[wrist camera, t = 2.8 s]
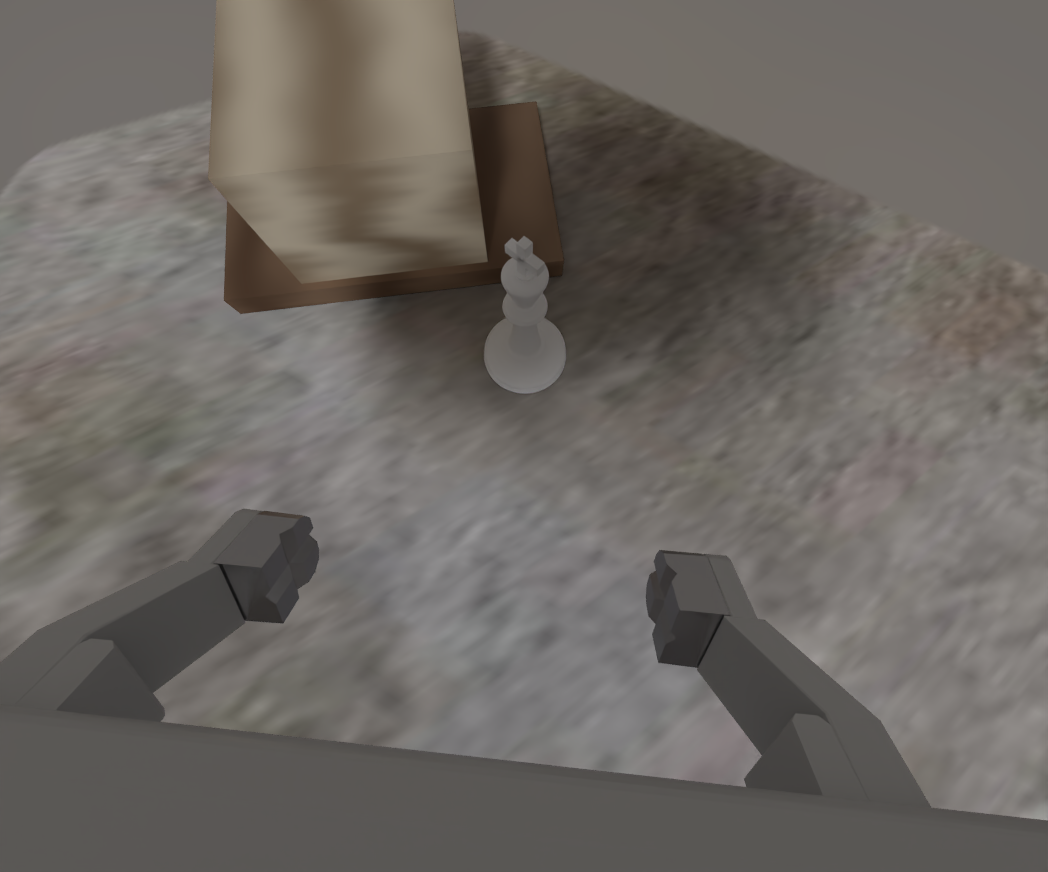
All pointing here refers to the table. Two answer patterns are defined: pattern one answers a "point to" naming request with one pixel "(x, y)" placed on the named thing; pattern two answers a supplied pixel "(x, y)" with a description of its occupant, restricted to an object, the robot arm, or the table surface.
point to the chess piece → (524, 327)
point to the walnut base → (365, 156)
